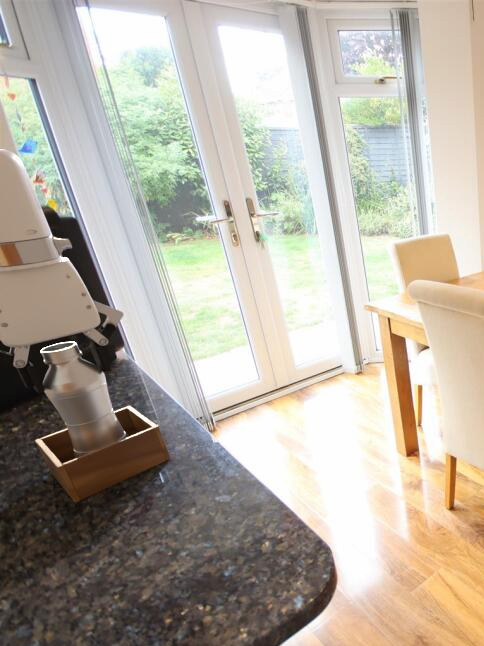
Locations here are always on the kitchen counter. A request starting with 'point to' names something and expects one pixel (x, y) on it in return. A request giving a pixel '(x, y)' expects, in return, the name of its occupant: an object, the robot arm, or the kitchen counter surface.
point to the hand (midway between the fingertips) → (73, 378)
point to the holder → (104, 456)
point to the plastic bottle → (80, 398)
